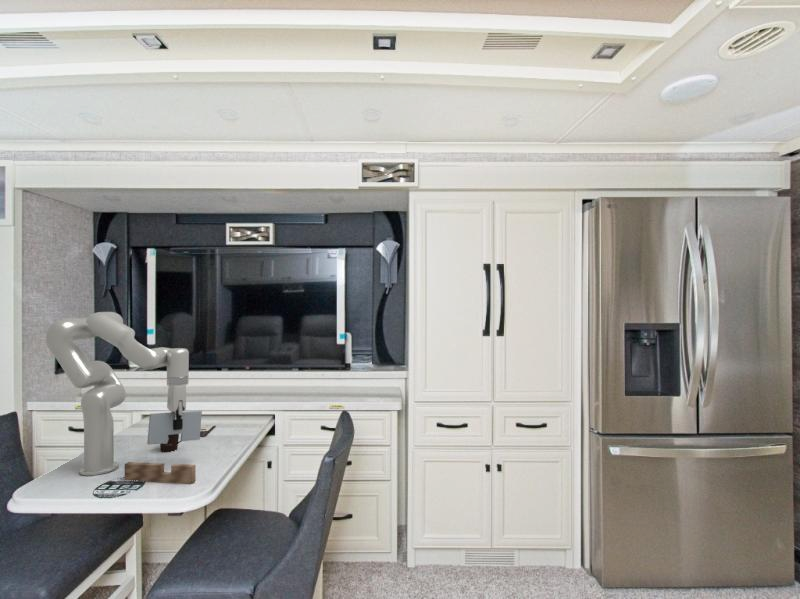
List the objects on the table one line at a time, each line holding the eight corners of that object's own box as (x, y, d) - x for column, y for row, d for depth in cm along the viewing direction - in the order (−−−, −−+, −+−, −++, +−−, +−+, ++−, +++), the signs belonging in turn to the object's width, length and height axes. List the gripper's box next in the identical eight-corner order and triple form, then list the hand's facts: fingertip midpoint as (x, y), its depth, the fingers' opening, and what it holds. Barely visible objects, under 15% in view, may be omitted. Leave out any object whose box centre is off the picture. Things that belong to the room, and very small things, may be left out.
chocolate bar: (185, 436, 219) (197, 426, 237) (185, 438, 219) (197, 428, 237) (205, 435, 220) (215, 425, 238) (205, 437, 220) (215, 427, 238)
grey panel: (148, 444, 171) (150, 414, 172) (147, 443, 173) (149, 413, 173) (199, 439, 182) (201, 411, 183) (198, 438, 184) (200, 410, 184)
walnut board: (124, 480, 167) (124, 463, 167) (128, 478, 169) (128, 462, 169) (192, 483, 163) (192, 466, 163) (195, 481, 165) (195, 464, 165)
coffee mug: (153, 451, 199) (153, 428, 199) (171, 445, 207) (170, 423, 207) (172, 455, 194) (172, 431, 194) (189, 449, 202) (189, 426, 202)
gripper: (162, 378, 182) (161, 425, 182) (171, 384, 170) (170, 435, 169) (183, 377, 187) (182, 422, 186) (193, 382, 174) (192, 431, 174)
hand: (177, 428), depth 178 cm, fingers closed on grey panel, 1 cm apart
